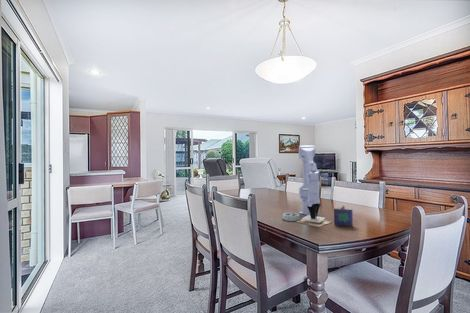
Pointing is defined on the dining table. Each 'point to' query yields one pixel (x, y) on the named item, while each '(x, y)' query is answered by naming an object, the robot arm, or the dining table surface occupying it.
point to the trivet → (314, 223)
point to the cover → (313, 219)
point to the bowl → (291, 216)
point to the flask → (343, 217)
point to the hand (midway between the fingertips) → (314, 217)
